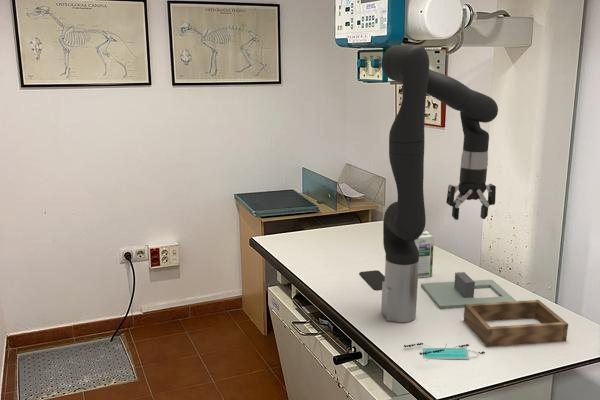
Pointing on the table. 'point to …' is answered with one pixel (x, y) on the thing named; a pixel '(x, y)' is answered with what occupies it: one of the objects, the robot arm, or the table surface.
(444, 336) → the table surface
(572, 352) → the table surface
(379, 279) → the phone
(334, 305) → the table surface
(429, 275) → the syrup box
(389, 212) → the robot arm
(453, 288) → the lid
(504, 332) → the wooden frame
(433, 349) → the surgical mask
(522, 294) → the table surface
